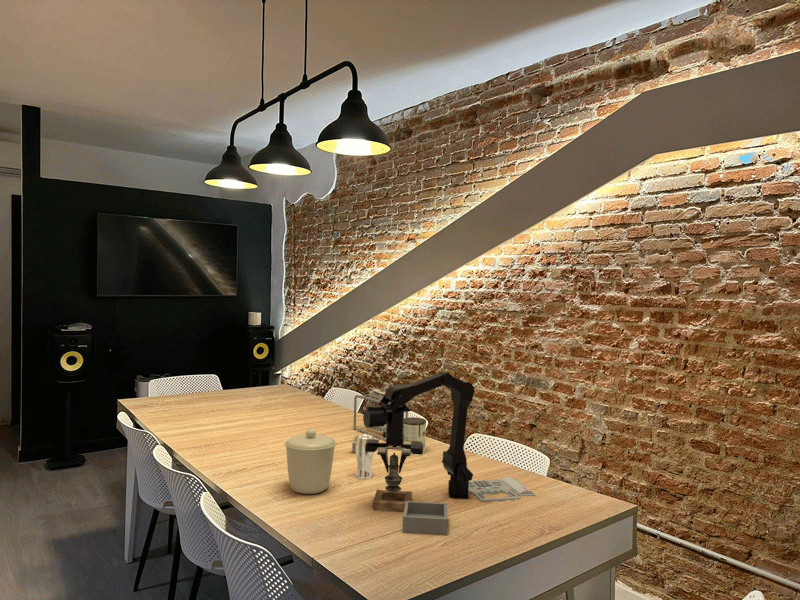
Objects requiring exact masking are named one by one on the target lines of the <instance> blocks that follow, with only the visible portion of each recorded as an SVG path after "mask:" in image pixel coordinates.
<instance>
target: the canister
mask: <svg viewBox="0 0 800 600" xmlns="http://www.w3.org/2000/svg"><path fill="white" fill-rule="evenodd" d="M337 443H338V442H337V441H336V440H335V439H334V438H333V437H331V436H329V435H326V434H325V435H324V434H320V433H317V432H316V430H315V429H313V428H308V429H307V430H306V431H305V434H297V435H294V436H292V437H289V438H288V439H286V440H285V441H284V442H283V445H284V447H285V450H286V461H287V474H288V483H289V487H290V488H291V490H292V491H293V492H295V493H297V494H298V493H299V494H304V495H313V494H319V493H321V492H324V491H326V490H327V488H328V486H329V485H330V481H331V476H332V475H331V474H332V469H333V462H334V454H335V447H336V446H337Z"/></svg>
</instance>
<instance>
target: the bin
mask: <svg viewBox="0 0 800 600" xmlns="http://www.w3.org/2000/svg"><path fill="white" fill-rule="evenodd" d="M402 513H403V514H402V533H407V534H408V533H410V534H411V533H412V534H425V535H427V534H428V535H442V536H443V535H444V536H445V535H446V536H448V524H449V523H448V522H449V520H448V519H449V518H448V516H449V515H448V503H447V502H432V501H431V502H430V501H416V500H415V501H414V500H412V501H405V507H404V512H402Z"/></svg>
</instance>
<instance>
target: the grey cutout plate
mask: <svg viewBox="0 0 800 600" xmlns="http://www.w3.org/2000/svg"><path fill="white" fill-rule="evenodd" d="M511 491H512V492H511ZM513 492H514V493H513ZM469 493H472V494H473V495H472V494H471V495H472V496H474V497H475V496H476V497H477V498H478V499H479V500H478V499H477V498H476V497H475V498H476V499H477V500H478V501H479V502H480V503H494V501H498V502H507V501H506V500H512V501H516V500H515V499H521V498H522V497H521V496H533V497H535V496H536V493H535V492H534V491H532V490H531V489H529V488H528V487H527V486H525V485H524V484H523V483H521V481H519V480H518V479H517V478H513V477H511V476H504V477H502V478H499V479H481V480H480V479H479V480H470V481H469V488H468V494H469ZM498 493H503V494H505V493H506V494H505V495H507V496H508V495H509V496H510V497H509V496H508V497H507V496H505V497H491V498H489V497H486V496H485V495H483V494H489V495H499V494H498ZM515 493H516V494H517V495H518V496H517V495H516V494H515ZM519 496H520V497H519ZM492 501H493V502H492Z"/></svg>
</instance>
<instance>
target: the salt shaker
mask: <svg viewBox="0 0 800 600" xmlns="http://www.w3.org/2000/svg"><path fill="white" fill-rule="evenodd" d="M399 465H400V464H399V456H398V455H397V454H396V452H393V453H392V454H391V455H390V456H389V466H388V467H389V472H388V474H387V475H385V476H384V480H385V484H386V486H385V488H384V490H388V491H402V487H401V486H400V485H401V483H402V480H403V477H402V476H401V475H400V473H399Z"/></svg>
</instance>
